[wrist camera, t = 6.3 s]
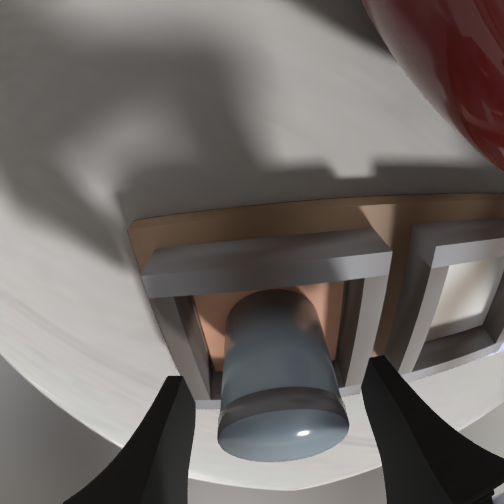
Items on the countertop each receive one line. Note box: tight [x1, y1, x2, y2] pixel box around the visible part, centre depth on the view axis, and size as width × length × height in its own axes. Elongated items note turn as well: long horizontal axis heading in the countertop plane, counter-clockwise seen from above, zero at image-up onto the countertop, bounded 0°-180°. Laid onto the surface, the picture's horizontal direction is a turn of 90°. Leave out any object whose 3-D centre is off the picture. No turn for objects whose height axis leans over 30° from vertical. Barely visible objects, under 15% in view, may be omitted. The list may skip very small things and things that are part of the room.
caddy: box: [127, 193, 504, 409], centre depth 13 cm, size 22×11×3 cm, turn 96°
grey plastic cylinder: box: [218, 289, 349, 462], centre depth 11 cm, size 4×4×6 cm
